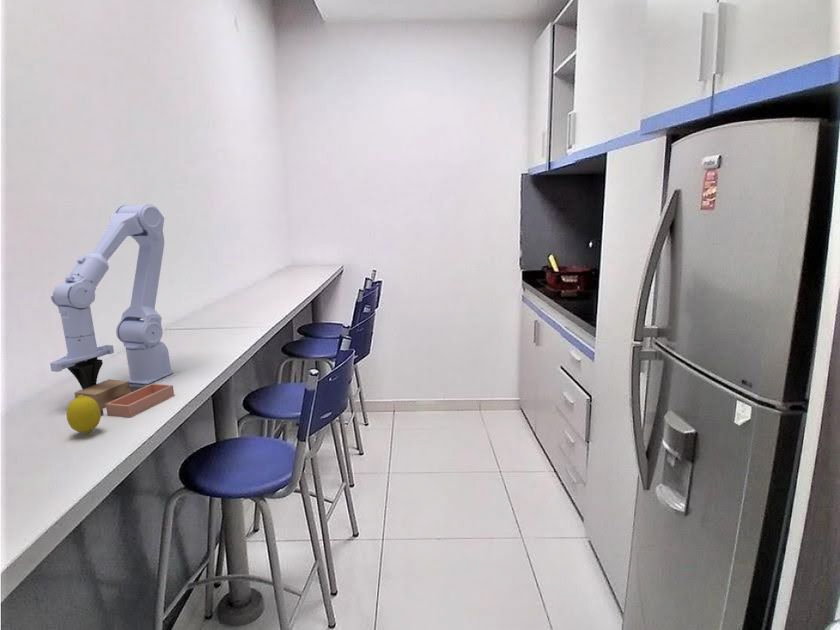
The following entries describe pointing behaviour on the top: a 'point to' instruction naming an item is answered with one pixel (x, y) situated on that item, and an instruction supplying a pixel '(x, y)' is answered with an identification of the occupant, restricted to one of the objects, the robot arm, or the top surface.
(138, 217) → the robot arm
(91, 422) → the lemon
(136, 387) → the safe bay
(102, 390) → the block
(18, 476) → the top surface
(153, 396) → the tray
